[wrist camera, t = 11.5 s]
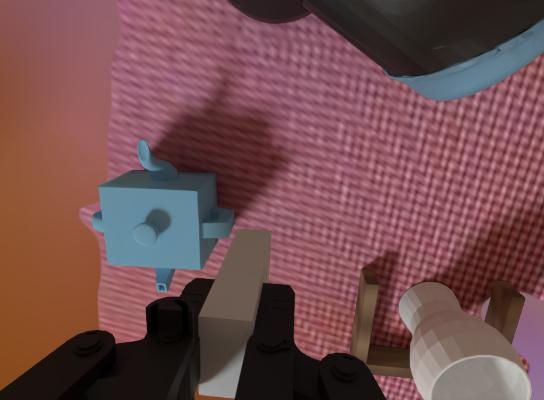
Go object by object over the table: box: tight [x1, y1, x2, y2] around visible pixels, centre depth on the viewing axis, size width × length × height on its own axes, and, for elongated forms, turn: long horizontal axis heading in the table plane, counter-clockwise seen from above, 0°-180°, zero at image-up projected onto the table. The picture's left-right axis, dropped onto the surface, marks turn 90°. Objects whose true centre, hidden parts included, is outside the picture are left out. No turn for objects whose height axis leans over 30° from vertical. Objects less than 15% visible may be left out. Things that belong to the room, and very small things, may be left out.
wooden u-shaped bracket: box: [350, 269, 525, 379], centre depth 48 cm, size 14×19×4 cm
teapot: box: [92, 140, 234, 292], centre depth 42 cm, size 16×18×11 cm
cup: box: [399, 282, 532, 400], centre depth 42 cm, size 11×11×15 cm
